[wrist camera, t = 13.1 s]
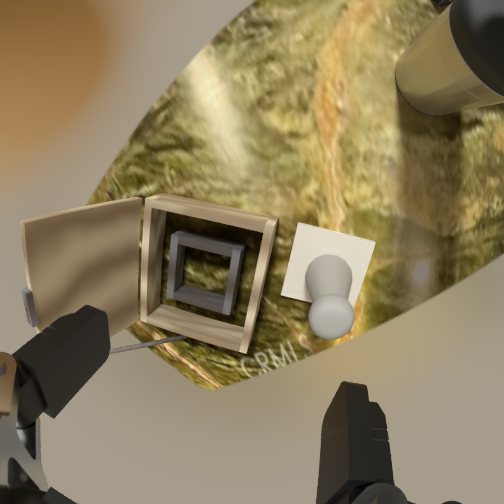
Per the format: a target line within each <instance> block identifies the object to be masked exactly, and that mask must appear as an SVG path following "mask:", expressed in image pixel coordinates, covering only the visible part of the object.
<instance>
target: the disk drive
mask: <svg viewBox="0 0 504 504" xmlns="http://www.w3.org/2000/svg"><path fill="white" fill-rule="evenodd" d="M434 1H435V2H436V4H437V5H438V6H442V5H449V4H451V3H452V2H453V1H454V0H434Z"/></svg>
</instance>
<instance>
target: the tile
mask: <svg viewBox="0 0 504 504" xmlns="http://www.w3.org/2000/svg"><path fill="white" fill-rule="evenodd" d="M374 246H375V241H372V240H368V239H364V238H360V237H356V236H352V235H348V234H344V233H340V232H337V231H332V230H328V229H324V228H320V227H316V226H312V225H308V224H304V223H300V222H298V226H297V230H296V235H295V239H294V243H293V248H292V252H291V256H290V260H289V264H288V268H287V272H286V276H285V280H284V285H283V289H282V292H281V295H282V296H286V297H290V298H294V299H299V300H303V301H307V302H311V303H313V302H312V300H311V297H310V295H309V292H308V289H307V287H306V282H305V273H306V271H307V268H308V265H309V264H310V263H311V262H312V261H313V260H314V259H315V258H317V257H319V256H322V255H325V254H329V255H337V256H339V257H341V258H342V259H344V260H345V261H346V262H347V264H348V265H349V267H350V268H351V270H352V285H351V289H350V294H349V298H348V301H349V302H350V304H351V305H352V307H353V308H354V306H355V303H356V300H357V297H358V295H359V292H360V289H361V286H362V283H363V280H364V277H365V274H366V271H367V268H368V265H369V262H370V259H371V256H372V253H373V250H374Z"/></svg>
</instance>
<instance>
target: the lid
mask: <svg viewBox="0 0 504 504" xmlns="http://www.w3.org/2000/svg"><path fill="white" fill-rule="evenodd" d="M141 207H142V198H139V197H133V198H127V199H121V200H116V201H110V202H105V203H100V204H94V205H89V206H84V207H79V208H74V209H70V210H65V211H61V212H56V213H51V214H47V215H42V216H38V217H34V218H30V219H26V220H22V221H21V232H22V245H23V254H24V263H25V271H26V277H27V284H28V287H26V288H24V289H22V295H23V300H24V305H25V310H26V315H27V319H28V322H29V324H30V325H31V326H32V327H35V326H36V330H37V334H38V333H42V330H44V329H45V328H46V327H47V326H48V327H49V326H50V324H51V323H53V322H54V321H55V320H57V319H58V318H59V317H62V316H65V315H67V314H70V313H75V312H76V311H78V310H79V309H80V308H82V307H83V306H84V305H90V306H93V307H95V308H98V309H100V310H103V311H105V312H106V313H107V316H108V325H109V336H110V337H111V336H113V335H115V334H116V333H118V332H120V331H122V330H123V329H125V328H127V327H129V326H130V325H132V324H134V323H136V322H137V321H138V260H139V237H140V221H141Z"/></svg>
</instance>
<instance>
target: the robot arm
mask: <svg viewBox="0 0 504 504" xmlns="http://www.w3.org/2000/svg"><path fill="white" fill-rule="evenodd" d="M395 76H396V82H397V85H398V88H399V90H400V92H401V94H402V95H403V97H404V98H405V100H406V101H407V102H408V103H409V104H410V105H411V106H413V107H414V108H415V109H417V110H418V111H420V112H422V113H424V114H428V115H432V116H439V115H446V114H449V113H454V112H459V111H463V110H468V109H473V108H478V107H483V106H488V105H493V104H499V103H504V0H454V1H453V2H452V3H451V4H450V5H449V6H448V7H447V8H446V9H445V10H444V11H443V12H442V13H441V14H440V16H439V17H434V18H433V19H432V20H431V21H430V22H429V23H428V24H427V25H426V26H425V27H424V29H423V30H422V31H421V32H420V33H419V34H418V35H417V36H416V37H415V38H414V39H413V40H412V42H411V43H410V46H409V48H408V49H407V50H406V51H405V52H404V53H403V54H402V55H401V57H400V58H399V59H398V62H397V64H396V69H395ZM109 353H110V336H109V325H108V316H107V313H106V312H105V311H103V310H100V309H98V308H95V307H93V306H90V305H84V306H83V307H82V308H80V309H79V310H78V311H76V312H75V313H70V314H67V315H65V316H62V317H59V318H58V319H57V320H55V321H54V322H53V323H51V324H50V326H49V327H48V326H47V327H46V328H45V329H44V330H42V333H38V334H37V335H36V336H35V337H34V338H32V339H31V340H30V341H28V342H27V343H26V344H25V345H23V346H22V347H21V348H20V349H18V351H16V352H15V353H14V354H12V355H10V354H9V353H5V352H0V504H77V503H75V502H74V501H72V500H70V499H69V498H67V497H66V496H64V495H63V494H61V493H59V492H58V491H57V490H55V489H53V488H52V487H50V488H49V489H48V484H47V480H46V477H45V475H44V472H43V469H42V464H41V443H40V418H39V416H40V414H41V413H42V412H45V413H46V414H47V415H49V416H50V417H52V418H55V417H56V416H57V415H58V414H59V412H60V411H61V410H62V409H63V408H64V407H65V406H66V405H67V403H68V402H69V401H70V400H71V399H72V398H73V397H74V396H75V394H76V393H77V392H78V391H79V390H80V389H81V388H82V387H83V386H84V384H85V383H86V382H87V381H88V380H89V379H90V378H91V377H92V375H94V373H95V372H96V371H97V370H98V369H99V368H100V367H101V366H102V365H103V364H104V363H105V361H106V360H107V358H108V356H109ZM388 440H389V438H388V431H387V424H386V418H385V414H384V413H383V411H382V409H381V408H380V406H379V405H378V403H376V402H369V397H368V390H367V386H366V385H363V384H358V383H351V382H346V381H343V382H342V383H341V384H340V386H339V388H338V390H337V392H336V394H335V396H334V398H333V400H332V402H331V404H330V406H329V408H328V409H327V412H326V414H325V416H324V420H323V424H322V433H321V450H320V464H319V477H318V487H317V498H316V504H414V503H411V502H409V501H407V498H406V497H405V495H404V493H403V492H402V491H401V490H400V489H399V488H398V487H396V486H395V485H394V480H393V471H392V461H391V453H390V445H389V442H388ZM442 504H461V503H460V502H457V501H448V502H444V503H442Z"/></svg>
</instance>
